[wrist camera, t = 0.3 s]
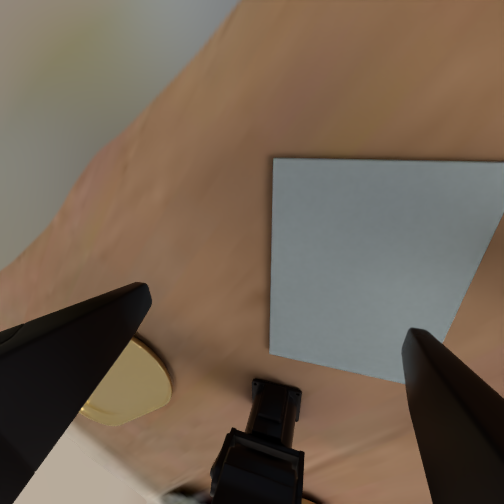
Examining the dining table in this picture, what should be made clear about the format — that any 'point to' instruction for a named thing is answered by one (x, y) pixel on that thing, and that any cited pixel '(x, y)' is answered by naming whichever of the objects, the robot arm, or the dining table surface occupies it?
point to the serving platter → (130, 387)
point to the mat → (374, 254)
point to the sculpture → (306, 501)
